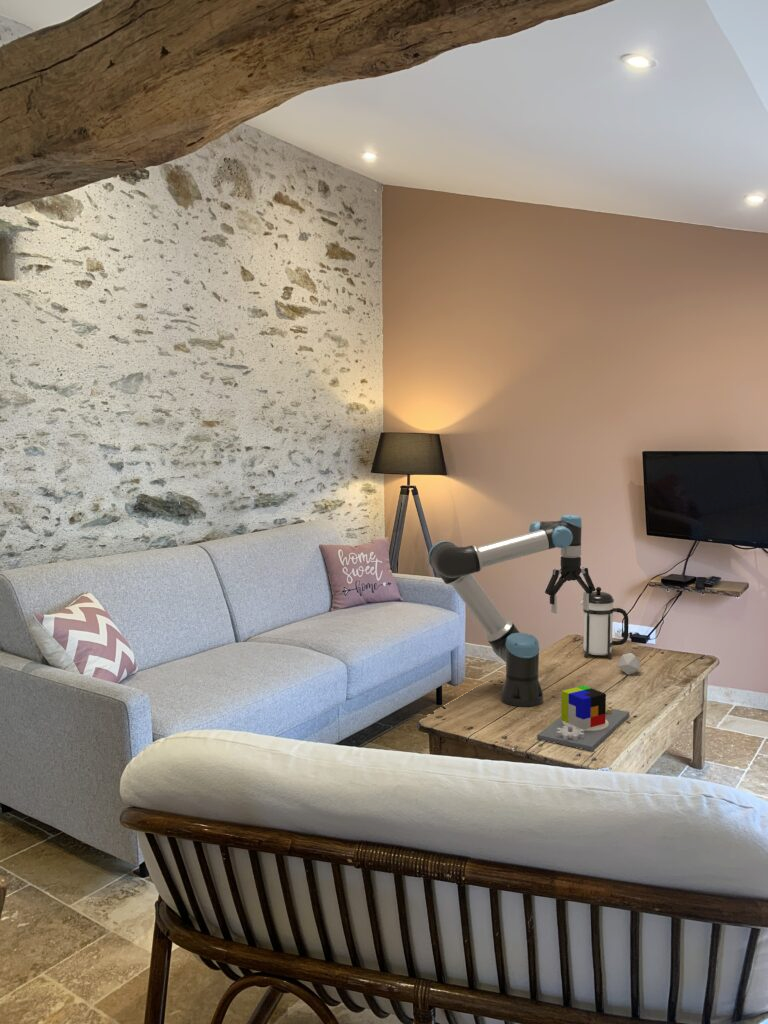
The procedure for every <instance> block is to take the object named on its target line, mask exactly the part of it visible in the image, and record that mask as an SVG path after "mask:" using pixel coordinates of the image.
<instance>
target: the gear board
mask: <svg viewBox="0 0 768 1024" xmlns="http://www.w3.org/2000/svg"><path fill="white" fill-rule="evenodd" d="M629 717H630V711H626V710H620V709H616V708H612V706H611V705H606V717H605V724H602V725H598V726H594V727H590V728H587V729H581V728H578V727H576V726H574V725H571V724H569V723H567V722H565V721H562V720H561V716H559V717H558V718H557V719H556V720H554V721H553V722H551V723H550V724H549V725H548V726H546V727H545V728H544V729H543V730H541V731H540V732H539V733H538V734H537V735H536V736H537V737H536V739H537V740H538V739H541V740H540V741H542V740H545V741H544V742H547V741H550V742H549V743H551V742H555V743H554V744H556V743H559V744H558V745H560V744H564V745H563V746H565V745H568V746H567V747H569V746H573V747H572V748H574V747H577V748H576V749H578V748H582V749H581V750H583V749H585V750H584V751H587V750H589V751H588V752H593V751H594V750H596V748H598V746H600V745H601V744H602V743H603V742H604V741H605V740H606V739H607V738H608V737H609V736H611V734H612V733H613V732H614V731H616V729H618V728H619V727H620V726H621V725H622V724H623V723H624V722H625V721H626V720H627V719H628V718H629Z"/></svg>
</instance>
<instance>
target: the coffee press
mask: <svg viewBox="0 0 768 1024" xmlns="http://www.w3.org/2000/svg"><path fill="white" fill-rule="evenodd" d="M595 589H596V590H595V591H593V592H592V594H591V600H590V601H589V610H588V611H587V610H584V609H583V608H582V611H583V634H582V635H583V636H582V637H583V641H582V642H583V643H582V646H583V648H582V649H583V652H584V656H583V657H584V658H586V659H589V658H590V656H591V655H593V656H605V657H606V659H607V660H612V658H613V656H612V654H611V653H612V652H613V646H621V645H624V644H626V643H627V641H628V638H629V616H628V613H627V611H626V610H624V609H623V608H620V607H616V608H615V607H614V602H615V599H614V597H613V596H612V595H611V593H608V592H606V591H605V592H603V591H602V588H601V587H600V586H596V587H595ZM579 605H580V606H583V599H582V600H581V601H580V603H579ZM614 613H620V614H621V615H622V616H623V637H622V639H621V640H613V622H614V621H613V620H614V619H613V616H614V615H613V614H614Z"/></svg>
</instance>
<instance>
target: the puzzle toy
mask: <svg viewBox="0 0 768 1024" xmlns="http://www.w3.org/2000/svg"><path fill="white" fill-rule="evenodd" d="M606 700H607V694H606V693H605V692H602V691H599V690H597V689H594V688H592V687H589V686H586V685H582V686H576V687H573V688H572V687H571V688H568V689H564V690H561V701H560V702H561V703H560V704H561V705H560V707H561V709H560V710H561V711H560V713H561V716H560V717H561V720H562V721H565V722H567V723H569V724H571V725H574V726H576V727H578V728H581V729H587V728H590V727H594V726H598V725H602V724H605V717H606V706H607V705H606V704H607V701H606Z"/></svg>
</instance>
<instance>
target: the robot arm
mask: <svg viewBox="0 0 768 1024" xmlns="http://www.w3.org/2000/svg"><path fill="white" fill-rule="evenodd" d="M582 527H583V525H582V517H581V516H580V515H577V514H564V515H561V516H560V520H556V521H554V520H551V521H547V520H546V521H540V520H539V521H533V522H531V523H530V525H529V531H528V532H527V533H524V534H520V535H517V536H513V537H509V538H504V539H502V540H497V541H494V542H489V543H486V544H482V545H479V546H475V545H473V544H472V545H468V546H458V545H456V544H454V543H453V542H451V541H447V540H445V541H442V540H441V541H439V542H437V543H434V545H432V547H431V548H430V549H429V552H428V563H429V565H430V567H431V568H432V569H433V570H435V572H437V574H438V576H439V577H440V578H441V579H442V581H443V582H444V584H445V585H451V586H452V588H453V589H454V591H455V592H456V593H457V595H459V597H460V599H461V600H462V601H463V603H465V605H466V607H467V608H468V610H470V612H471V614H472V615H473V616H474V617H475V619H476V620H477V622H478V623H479V624H480V625H481V627H482V628H483V629H484V631H485V632H486V637H485V639H486V640H487V642H488V643H489V644H490V646H491V648H492V651H493V652H494V653H495V655H496V656H497V657H499V658H500V659H502V661H504V662H505V681H504V683H503V686H502V688H501V692H500V700H501V701H502V702H503V703H504V704H506V705H508V706H509V705H510V706H513V707H514V706H515V707H522V708H523V707H534V706H538V705H541V704H542V703H543V702H544V694H543V690H542V687H541V684H540V681H539V668H540V667H539V666H540V665H539V664H540V663H539V662H540V661H539V660H540V658H539V657H540V656H539V655H540V646H539V645H540V643H539V640H538V638H537V637H535V636H534V635H532V634H529V633H526V632H520V631H519V630H518V628H517V626H516V625H515V624H514V622H513V621H512V620H509V619H505V617H504V616H503V614H502V613H501V611H500V610H499V609H498V607H497V606H496V605H495V603H494V602H493V601H492V600H491V598H490V597H489V595H488V593H486V590H484V589H483V587H482V586H481V584H480V582H479V581H478V580H477V578H476V577H475V576H474V574H475V573H479V572H481V571H482V569H483V568H485V567H489V566H493V565H495V564H496V565H497V564H501V563H504V562H507V561H511V560H515V559H520V558H521V557H525V556H529V555H533V554H536V553H539V552H543V551H547V550H551V549H552V550H553V549H555V548H559V549H560V556H561V557H560V569H556V568H554V569H553V570H552V575H551V577H550V580H549V581H548V584H547V587H546V589H545V591H544V593H545V594H546V595H548V596H549V604H550V605H551V612H552V613H553V614H558V596H557V593H558V592H559V591H560V589H561V588H562V587H563V585H564V584H565V583H566V582H570V581H577V584H579V586H581V588H582V589H583V590H584V592H582V593H583V594H582V595H583V597H582V598H583V599H582V600H583V605H582V606H583V607H582V610H583V609H584V610H587V611H588V610H589V601H590V600H591V594H592V592H596V587H595V585H594V583H593V580H592V578H591V576H590V574H589V568H588V567H585V566H583V567H582V568H581V565H582V557H581V555H582ZM580 574H582V576H583V578H584V580H585V581H584V580H583V578H582V577H581V576H580ZM559 576H560V577H559Z"/></svg>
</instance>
